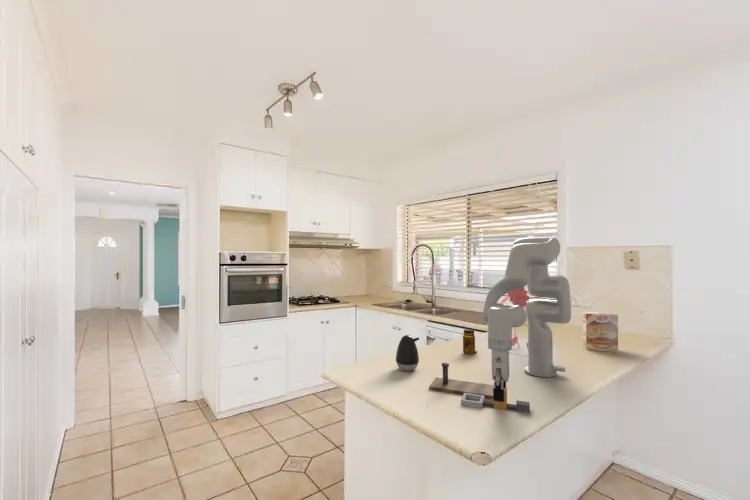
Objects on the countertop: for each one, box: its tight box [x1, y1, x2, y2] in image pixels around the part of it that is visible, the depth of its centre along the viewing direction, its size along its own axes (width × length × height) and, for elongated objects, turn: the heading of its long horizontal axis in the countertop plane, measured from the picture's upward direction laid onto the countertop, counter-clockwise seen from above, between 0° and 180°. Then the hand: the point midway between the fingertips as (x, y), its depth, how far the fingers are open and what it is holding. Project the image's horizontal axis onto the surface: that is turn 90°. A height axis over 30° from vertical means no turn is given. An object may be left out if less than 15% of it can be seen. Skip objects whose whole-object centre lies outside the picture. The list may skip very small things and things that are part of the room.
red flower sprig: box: [500, 287, 542, 357], centre depth 190 cm, size 15×26×35 cm, turn 32°
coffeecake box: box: [582, 311, 619, 353], centre depth 192 cm, size 15×7×20 cm, turn 73°
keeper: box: [428, 362, 494, 400], centre depth 136 cm, size 24×11×9 cm, turn 66°
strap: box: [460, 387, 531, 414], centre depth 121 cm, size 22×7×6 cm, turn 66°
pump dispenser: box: [395, 334, 420, 372], centre depth 160 cm, size 10×10×15 cm
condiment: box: [462, 328, 478, 356], centre depth 186 cm, size 7×8×12 cm
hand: (499, 395), depth 120 cm, fingers open, 9 cm apart
